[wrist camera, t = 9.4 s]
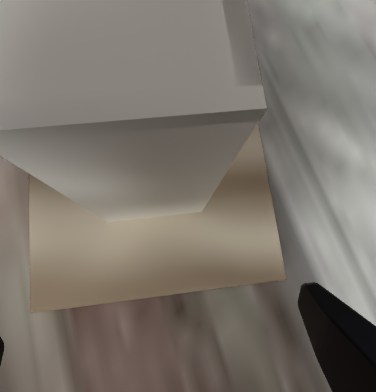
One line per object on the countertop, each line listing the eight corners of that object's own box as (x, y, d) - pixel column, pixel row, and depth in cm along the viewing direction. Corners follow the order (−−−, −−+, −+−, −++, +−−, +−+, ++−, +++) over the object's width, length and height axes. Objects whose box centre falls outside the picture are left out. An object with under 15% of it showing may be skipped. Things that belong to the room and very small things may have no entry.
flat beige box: (283, 279, 17) (331, 286, 12) (33, 312, 16) (-31, 335, 11) (245, 66, 20) (271, -1, 15) (31, 80, 19) (-21, 14, 14)
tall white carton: (201, 211, 17) (266, 108, 6) (107, 222, 17) (-37, 132, 5) (190, 126, 18) (225, -111, 7) (102, 134, 18) (-27, -105, 6)
